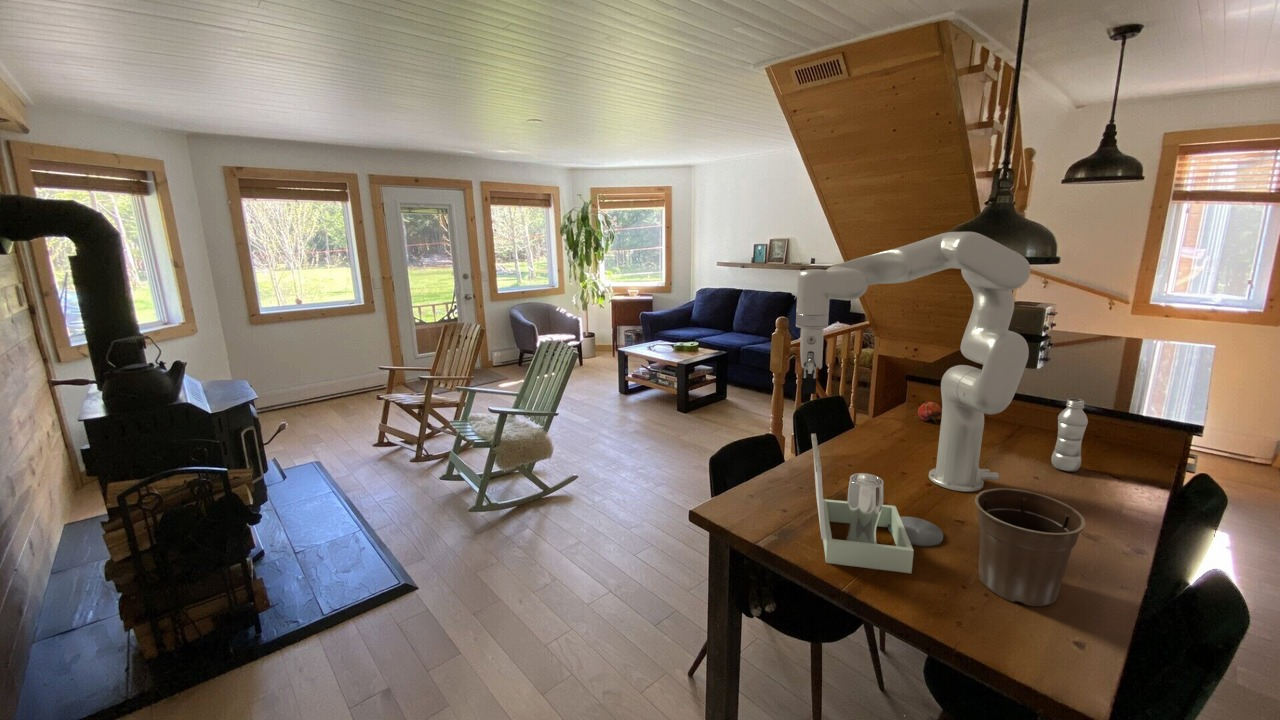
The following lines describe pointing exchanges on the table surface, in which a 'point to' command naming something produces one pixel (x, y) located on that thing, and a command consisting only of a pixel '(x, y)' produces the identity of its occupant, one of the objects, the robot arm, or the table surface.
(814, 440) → the lid
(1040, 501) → the plant pot
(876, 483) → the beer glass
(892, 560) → the frame
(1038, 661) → the table surface
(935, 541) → the grey round coaster
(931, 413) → the pomegranate
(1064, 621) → the table surface
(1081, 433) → the plastic bottle
